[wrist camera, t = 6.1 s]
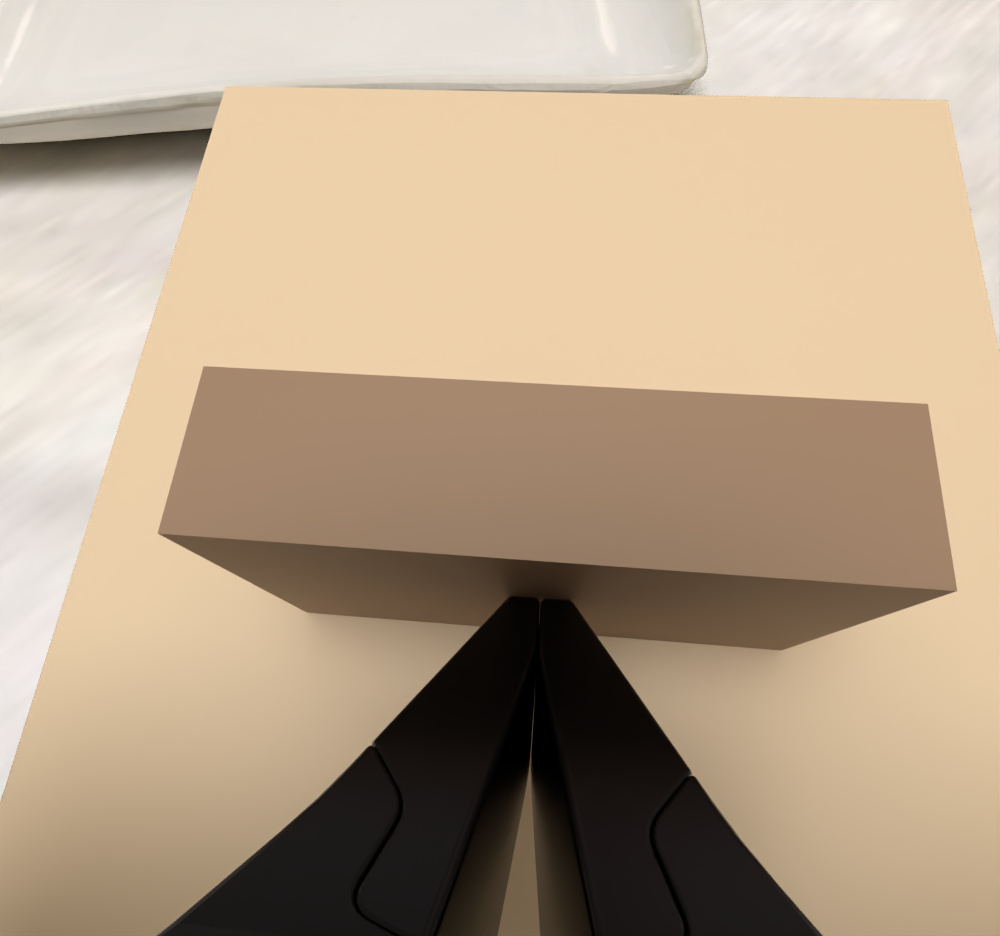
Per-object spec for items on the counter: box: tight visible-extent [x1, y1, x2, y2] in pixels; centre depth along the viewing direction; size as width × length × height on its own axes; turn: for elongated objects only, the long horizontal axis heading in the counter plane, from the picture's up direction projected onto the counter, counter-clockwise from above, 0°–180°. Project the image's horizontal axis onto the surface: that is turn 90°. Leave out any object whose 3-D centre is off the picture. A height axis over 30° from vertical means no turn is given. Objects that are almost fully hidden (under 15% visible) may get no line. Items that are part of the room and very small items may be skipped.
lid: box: [0, 86, 1000, 936], centre depth 10 cm, size 21×17×6 cm
